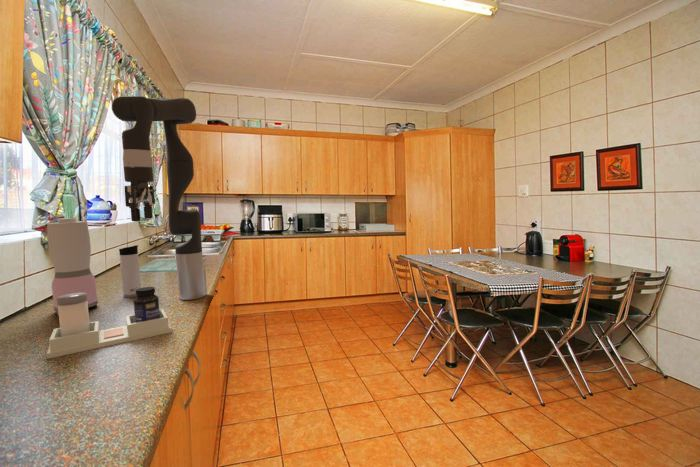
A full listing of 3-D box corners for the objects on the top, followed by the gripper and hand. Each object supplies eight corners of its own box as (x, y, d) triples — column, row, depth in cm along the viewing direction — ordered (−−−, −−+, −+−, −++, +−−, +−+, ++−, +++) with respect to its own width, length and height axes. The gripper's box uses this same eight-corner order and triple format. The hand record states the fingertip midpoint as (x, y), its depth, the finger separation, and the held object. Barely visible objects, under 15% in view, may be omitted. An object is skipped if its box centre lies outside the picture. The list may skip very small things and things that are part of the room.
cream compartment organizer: (166, 321, 109) (163, 279, 108) (172, 332, 100) (168, 286, 99) (52, 344, 94) (46, 295, 93) (47, 358, 85) (40, 304, 84)
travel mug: (136, 297, 139) (131, 246, 137) (119, 297, 139) (114, 247, 137) (145, 293, 145) (141, 244, 143) (129, 293, 145) (125, 244, 143)
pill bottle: (149, 331, 98) (146, 291, 97) (130, 330, 99) (127, 291, 98) (165, 323, 104) (162, 286, 103) (147, 322, 105) (144, 285, 104)
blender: (90, 312, 121) (80, 218, 118) (47, 317, 117) (35, 220, 114) (106, 300, 136) (98, 216, 132) (68, 304, 132) (58, 218, 129)
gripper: (135, 167, 113) (140, 217, 115) (112, 164, 99) (117, 222, 101) (160, 167, 114) (164, 217, 116) (140, 164, 100) (145, 222, 102)
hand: (142, 219), depth 109 cm, fingers open, 8 cm apart
